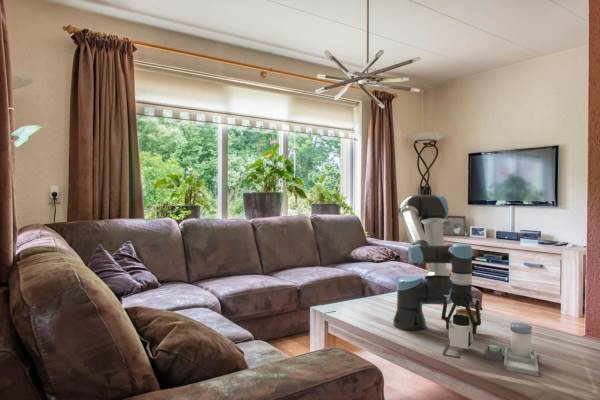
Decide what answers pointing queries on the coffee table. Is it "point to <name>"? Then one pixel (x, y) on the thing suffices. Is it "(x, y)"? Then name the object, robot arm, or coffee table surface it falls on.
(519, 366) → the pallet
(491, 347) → the button
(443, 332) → the coffee table surface
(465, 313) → the plant pot
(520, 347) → the cream and blue canister
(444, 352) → the frame
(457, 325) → the medicine bottle
